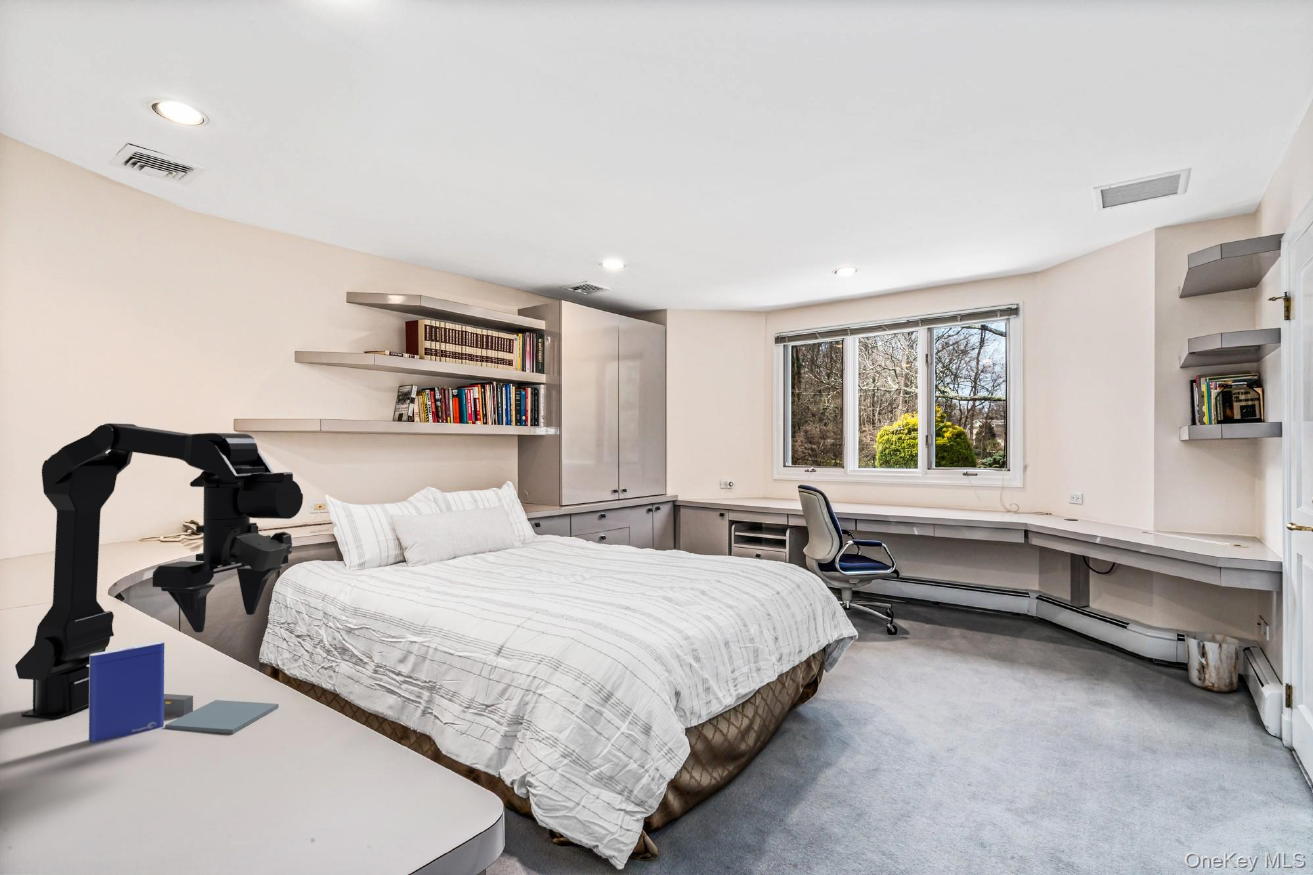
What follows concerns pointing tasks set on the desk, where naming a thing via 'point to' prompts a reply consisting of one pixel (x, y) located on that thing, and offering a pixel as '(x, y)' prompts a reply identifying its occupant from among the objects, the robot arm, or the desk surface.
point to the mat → (223, 716)
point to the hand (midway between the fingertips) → (226, 622)
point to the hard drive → (126, 691)
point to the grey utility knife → (177, 704)
